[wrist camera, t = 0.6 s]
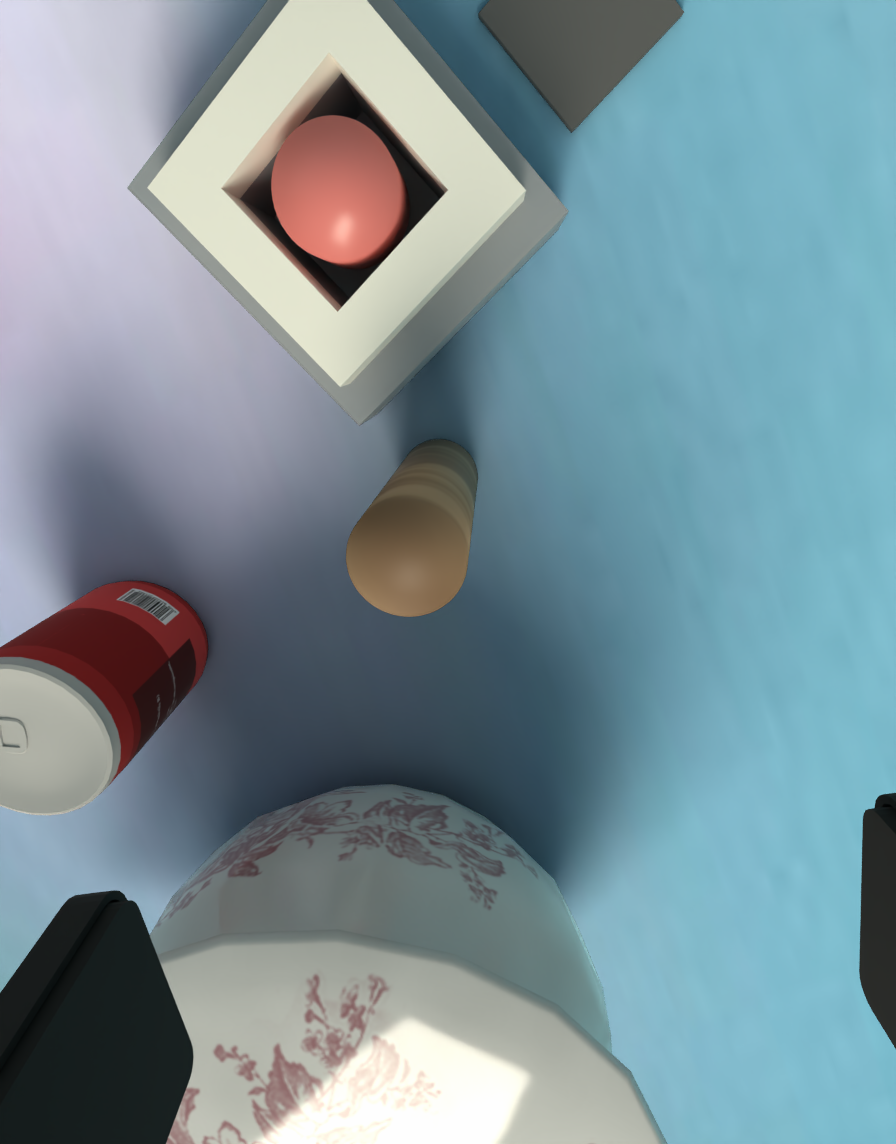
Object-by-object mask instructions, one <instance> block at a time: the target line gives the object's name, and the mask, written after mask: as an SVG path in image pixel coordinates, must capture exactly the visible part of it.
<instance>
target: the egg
mask: <svg viewBox="0 0 896 1144" xmlns="http://www.w3.org/2000/svg"><path fill="white" fill-rule="evenodd" d="M271 191H272V199H273V204H274V208H275V211H276V214H277V216H278V219H279V221H280V223H281V225H282V227H283V228H284V230H285V231H286V233H287V234H288V235H289V236H290V238H291V239H292V240H293V241H294V242H295V243H296V244H297V245H298V246H299V247H301V248H302V249H304V250H305V251H306V252H308V253H310V254H312V255H314V256H316V257H318V258H320V259H323V260H325V261H327V262H329V263H331V264H333V265H336V266H339V267H342V268H346V269H364V268H369V267H372V266H375V265H377V264H379V263H381V262H382V261H384V260H385V259H386V258H387V257H388V256H389V255H390V254H391V252H392V251H393V250H394V249H395V248H396V247H397V246H398V245H399V244H400V243H401V241H402V239H403V237H404V235H405V232H406V229H407V226H408V222H409V216H410V199H409V194H408V189H407V186H406V183H405V180H404V178H403V176H402V174H401V172H400V170H399V169H398V167H397V165H396V163H395V161H394V160H393V158H392V156H391V154H390V153H389V151H388V149H387V147H386V146H385V144H384V143H383V142H382V140H381V139H380V138H379V137H378V136H377V135H376V134H375V133H374V132H373V131H372V130H371V129H369V128H368V127H367V126H366V125H364V124H362V123H360V122H359V121H356V120H354V119H351V118H348V117H344V116H337V115H328V116H321V117H317V118H314V119H311V120H309V121H307V122H305V123H303V124H302V125H300V126H299V127H298V128H296V129H295V130H294V131H293V132H292V133H291V134H290V135H289V136H288V137H287V139H286V140H285V141H284V143H283V144H282V146H281V148H280V150H279V152H278V154H277V157H276V159H275V162H274V166H273V171H272V179H271Z"/></svg>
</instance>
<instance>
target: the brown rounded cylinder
mask: <svg viewBox="0 0 896 1144" xmlns="http://www.w3.org/2000/svg"><path fill="white" fill-rule="evenodd" d="M477 481H478V474H477V469H476V465H475V463H474V461H473V459H472V457H471V456H470V454H469V453H468V452H467V451H466V450H465V449H464V448H463V447H461V446H460V445H458V444H456V443H454V442H452V441H449V440H443V439H434V440H429V441H426V442H423V443H421V444H419V445H418V446H416V447H415V448H414V449H413V450H412V451H411V452H410V453H409V454H408V455H407V457H406V458H405V459H404V461H403V462H402V463H401V465H400V466H399V468H398V469H397V470H396V472H395V473H394V474H393V476H392V477H391V478H390V480H389V481H388V482H387V484H386V485H385V486H384V488H383V489H382V490H381V492H380V493H379V494H378V496H377V497H376V498H375V500H374V501H373V502H372V504H371V505H370V506H369V508H368V509H367V510H366V512H365V513H364V514H363V516H362V517H361V518H360V520H359V521H358V522H357V524H356V525H355V527H354V528H353V530H352V532H351V534H350V537H349V540H348V543H347V549H346V563H347V569H348V573H349V575H350V578H351V580H352V582H353V584H354V586H355V588H356V589H357V590H358V592H359V593H360V594H361V595H362V596H363V598H364V599H365V600H367V601H368V602H369V603H370V604H372V605H373V606H375V607H376V608H378V609H380V610H382V611H384V612H387V613H389V614H393V615H397V616H405V617H415V616H422V615H425V614H429V613H432V612H434V611H436V610H438V609H440V608H442V607H443V606H445V605H446V604H447V603H448V602H450V601H451V600H452V599H453V598H454V596H455V595H456V594H457V593H458V591H459V590H460V588H461V586H462V584H463V582H464V579H465V576H466V572H467V566H468V557H469V549H470V540H471V532H472V524H473V515H474V507H475V498H476V490H477Z"/></svg>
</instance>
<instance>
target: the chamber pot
mask: <svg viewBox="0 0 896 1144" xmlns="http://www.w3.org/2000/svg"><path fill="white" fill-rule="evenodd" d="M150 938H151V941H152V943H153V946H154V948H155V951H156V953H157V956H158V958H159V961H160V963H161V966H162V969H163V971H164V974H165V976H166V979H167V981H168V984H169V986H170V989H171V992H172V994H173V997H174V999H175V1002H176V1004H177V1007H178V1009H179V1012H180V1015H181V1017H182V1020H183V1022H184V1025H185V1027H186V1030H187V1032H188V1035H189V1037H190V1040H191V1043H192V1046H193V1055H194V1058H193V1068H192V1074H191V1077H190V1080H189V1083H188V1086H187V1088H186V1091H185V1094H184V1096H183V1099H182V1102H181V1105H180V1107H179V1110H178V1113H177V1115H176V1118H175V1121H174V1123H173V1126H172V1129H171V1131H170V1134H169V1137H168V1140H167V1142H166V1144H667V1142H666V1140H665V1138H664V1136H663V1134H662V1132H661V1130H660V1128H659V1126H658V1124H657V1122H656V1120H655V1118H654V1116H653V1114H652V1112H651V1110H650V1109H649V1107H648V1105H647V1103H646V1101H645V1099H644V1097H643V1095H642V1093H641V1091H640V1089H639V1087H638V1085H637V1083H636V1081H635V1079H634V1077H633V1075H632V1073H631V1071H630V1070H629V1069H628V1068H627V1067H625V1066H624V1065H623V1064H622V1063H621V1062H620V1061H619V1060H618V1059H617V1058H616V1057H615V1056H613V1055H612V1044H611V1033H610V1027H609V1021H608V1015H607V1010H606V1004H605V998H604V992H603V987H602V985H601V982H600V980H599V977H598V975H597V972H596V970H595V967H594V965H593V962H592V960H591V957H590V955H589V952H588V950H587V947H586V945H585V943H584V940H583V938H582V935H581V933H580V930H579V928H578V926H577V924H576V922H575V920H574V918H573V916H572V914H571V912H570V910H569V908H568V906H567V904H566V902H565V900H564V898H563V896H562V894H561V892H560V890H559V888H558V886H557V884H556V882H555V880H554V879H553V878H552V877H551V876H550V875H549V874H548V873H547V872H546V871H545V870H544V869H543V868H542V867H541V866H540V865H539V864H538V863H537V862H536V861H535V860H534V859H532V858H531V857H530V856H529V855H528V854H527V853H526V852H525V851H524V850H523V849H522V848H521V847H520V846H519V845H518V844H517V843H516V842H515V841H514V840H513V839H512V838H511V837H510V836H508V835H507V834H506V833H505V832H503V831H502V830H501V829H500V828H498V827H497V826H496V825H495V824H493V823H492V822H491V821H490V820H488V819H487V818H486V817H484V816H482V815H481V814H479V813H477V812H475V811H473V810H471V809H469V808H467V807H465V806H463V805H461V804H459V803H457V802H455V801H454V800H452V799H450V798H448V797H446V796H444V795H442V794H437V793H433V792H428V791H423V790H418V789H414V788H409V787H404V786H400V785H395V784H385V785H367V786H350V787H342V788H339V789H336V790H333V791H330V792H327V793H324V794H321V795H318V796H315V797H312V798H309V799H307V800H304V801H301V802H298V803H295V804H292V805H290V806H287V807H284V808H281V809H278V810H276V811H273V812H270V813H267V814H264V815H262V816H259V817H257V818H256V819H254V820H253V821H252V822H251V823H249V824H248V825H247V826H246V827H244V828H243V829H242V830H241V831H239V832H238V833H237V834H236V835H234V836H233V837H232V838H231V839H229V840H228V841H227V842H226V843H224V844H223V845H222V846H220V847H219V848H218V849H217V850H215V851H214V852H213V853H212V854H211V855H210V857H209V858H208V859H207V860H206V861H205V862H204V863H203V864H202V865H201V866H200V867H199V868H198V869H197V871H196V872H195V873H194V874H193V875H192V876H191V877H190V878H189V879H188V880H187V881H186V882H185V883H184V885H183V886H182V887H181V888H180V889H179V890H178V891H177V892H176V893H175V894H174V895H173V896H172V898H171V900H170V901H169V903H168V905H167V907H166V908H165V910H164V912H163V913H162V915H161V917H160V919H159V920H158V922H157V924H156V925H155V927H154V929H153V930H152V932H151V934H150Z"/></svg>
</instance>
